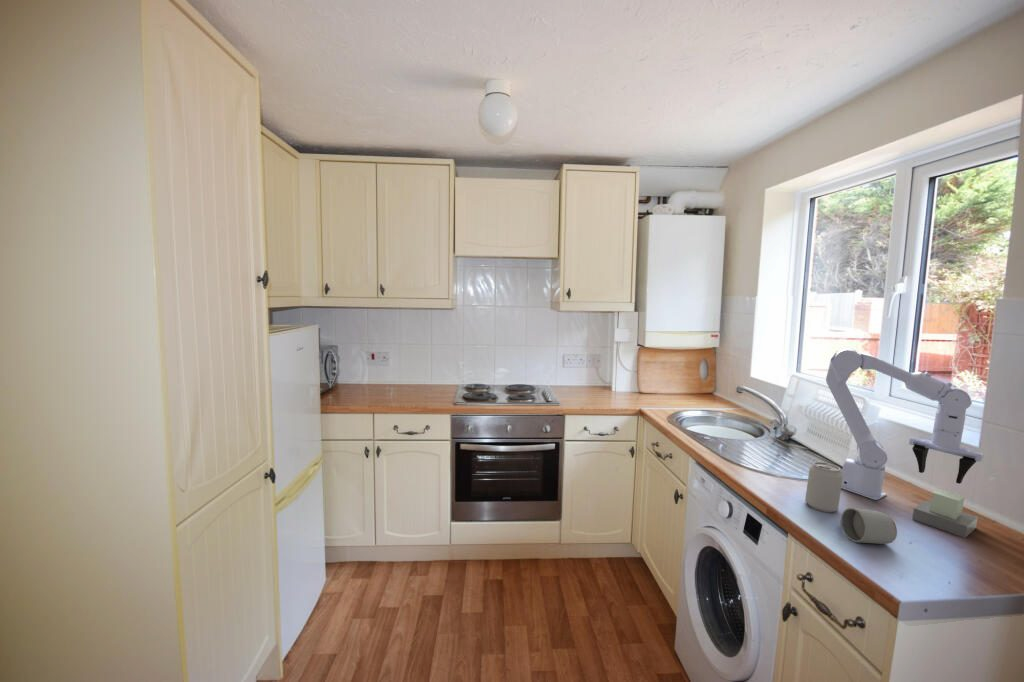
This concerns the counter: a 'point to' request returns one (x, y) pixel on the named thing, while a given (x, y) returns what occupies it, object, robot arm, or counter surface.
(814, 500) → the can
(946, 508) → the green block
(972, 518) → the stone base
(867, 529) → the grey cup
